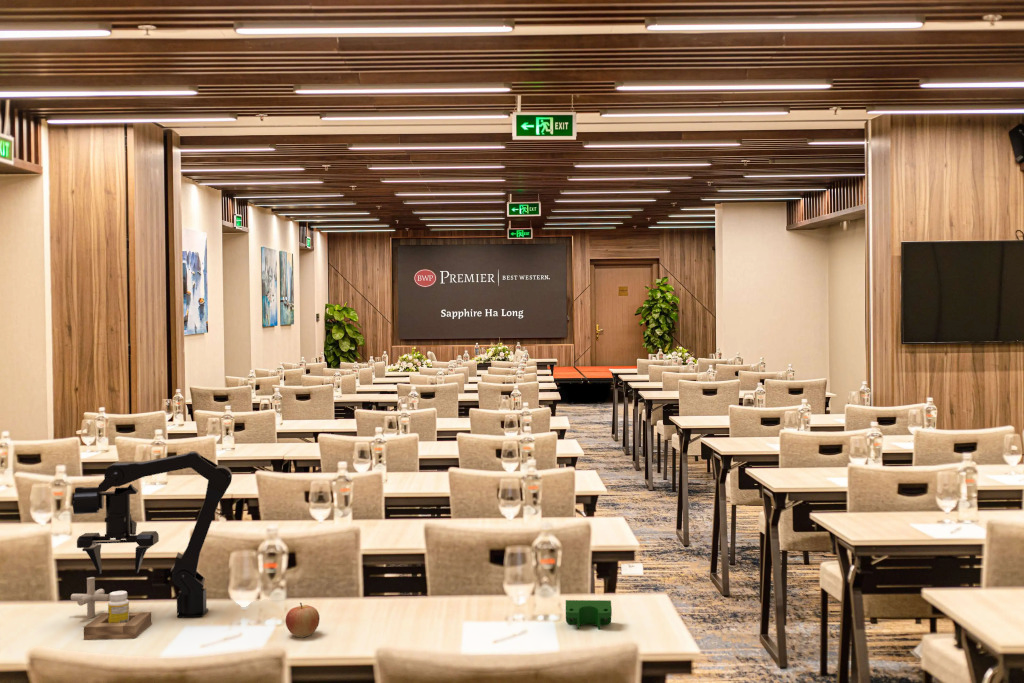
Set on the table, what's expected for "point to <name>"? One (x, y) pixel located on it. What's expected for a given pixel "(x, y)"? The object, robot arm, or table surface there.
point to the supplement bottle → (118, 607)
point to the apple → (302, 620)
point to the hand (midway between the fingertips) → (118, 573)
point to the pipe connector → (90, 597)
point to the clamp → (588, 612)
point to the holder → (117, 627)
